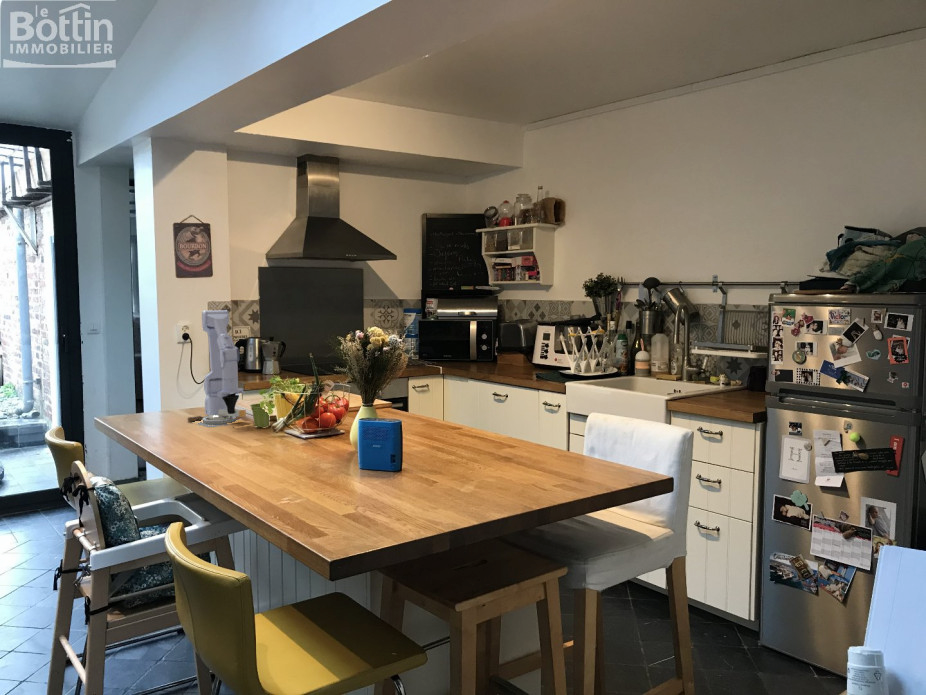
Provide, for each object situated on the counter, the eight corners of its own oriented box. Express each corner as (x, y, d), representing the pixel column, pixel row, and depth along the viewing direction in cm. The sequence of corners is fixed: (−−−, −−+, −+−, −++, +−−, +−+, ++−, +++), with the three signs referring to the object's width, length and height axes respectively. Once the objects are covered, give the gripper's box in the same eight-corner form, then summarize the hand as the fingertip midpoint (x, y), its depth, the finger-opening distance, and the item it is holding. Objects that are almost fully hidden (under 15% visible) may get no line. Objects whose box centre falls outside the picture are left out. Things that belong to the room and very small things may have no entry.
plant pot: (269, 424, 291) (268, 402, 290) (280, 427, 284) (279, 405, 283) (246, 427, 285) (246, 404, 284) (257, 430, 278) (256, 407, 277)
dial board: (186, 423, 292) (186, 418, 292) (228, 417, 305) (227, 412, 305) (210, 429, 280) (209, 423, 280) (252, 423, 293) (252, 417, 293)
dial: (204, 422, 290) (204, 410, 289) (215, 418, 297) (215, 407, 297) (239, 423, 286) (239, 411, 286) (250, 420, 294) (249, 408, 294)
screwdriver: (190, 422, 290) (189, 417, 290) (187, 422, 291) (187, 417, 291) (218, 418, 299) (217, 413, 299) (215, 418, 300) (215, 413, 300)
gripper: (228, 380, 281) (229, 416, 282) (249, 377, 295) (250, 411, 296) (212, 380, 283) (213, 416, 284) (234, 377, 297) (235, 410, 298)
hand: (231, 413), depth 290 cm, fingers closed, pressing on dial
